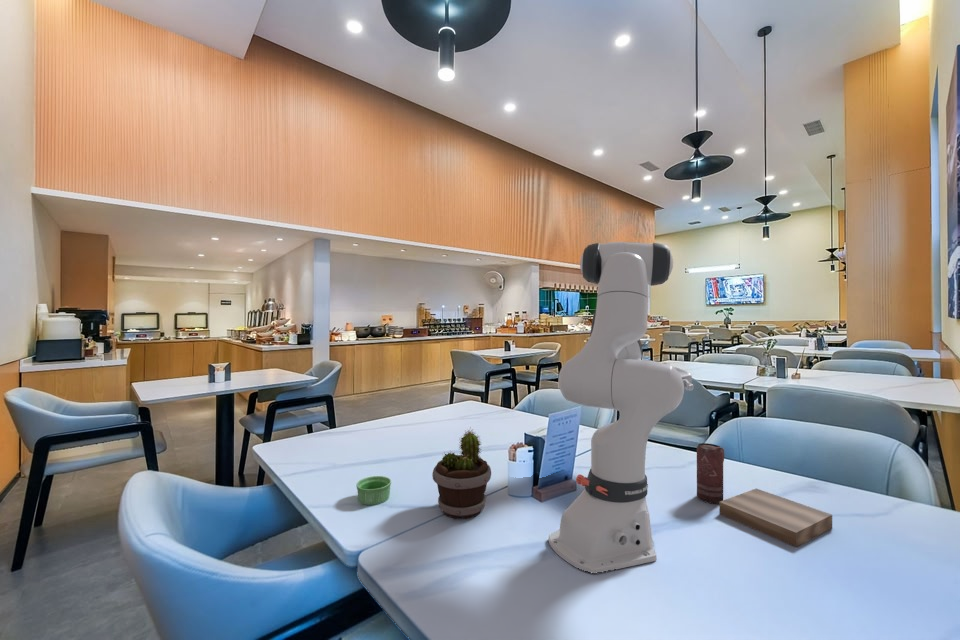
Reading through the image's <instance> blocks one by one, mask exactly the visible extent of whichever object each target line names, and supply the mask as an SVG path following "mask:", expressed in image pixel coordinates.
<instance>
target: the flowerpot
mask: <svg viewBox="0 0 960 640" xmlns="http://www.w3.org/2000/svg"><path fill="white" fill-rule="evenodd" d="M474 430H475V429H474V428H473V429H471V426H470V427H469V429H467V430H464V433H463V434H462V436H461V437H460V438H459V439H458V441H459V443H458V444H459V446H458V450H460V452H459V454H455V452H450V451H447V453H446V452H444V453H443V456H442V458H441V460H439V461H438V462H437V463H436V465H435V466H434V468H433V471H432V474H431V475H432V480H433V482H434V483H436V485H437V490H438V491H437V492H438V498H437V503H438V507H439V509H440V510H441V511H442V513H443V514H444V515H445V516H447V517H450V518H453V519H458V518H460V517H461V518H462V519H464V520H465V519H469V518H473V517H476V516H478V515H479V514H481V513H482V510H484V508H485V505H486V502H487V496H486V494H485V493H486V490H487V486H488V485H487V484H488V483H489V482H490V480H491V477H492V468H491V466H490V465H489V464H488V462H487V461H486V460H484V459H483V458H482V457H481V454H480V453H481V452H482V451H483V450H482V446H481V444H482V441H480V440H479V439H480V436H479V435H478V434H477V432H476V431H474ZM480 446H481V447H480Z"/></svg>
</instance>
